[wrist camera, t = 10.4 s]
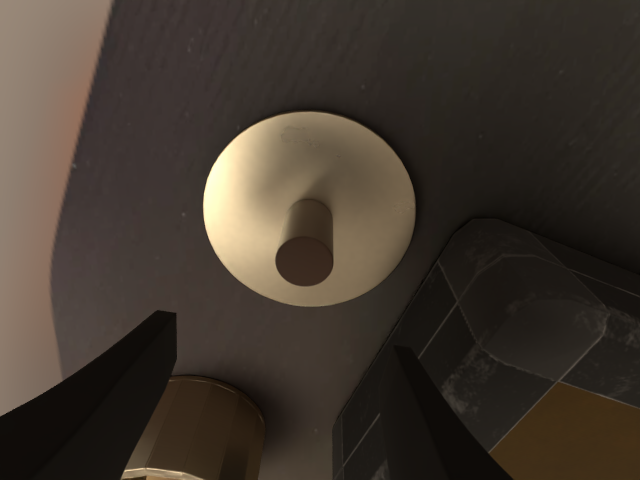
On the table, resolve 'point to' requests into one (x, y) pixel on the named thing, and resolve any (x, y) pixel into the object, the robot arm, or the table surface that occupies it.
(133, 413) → the robot arm
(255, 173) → the lid
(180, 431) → the tin
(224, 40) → the table surface
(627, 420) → the cash box
